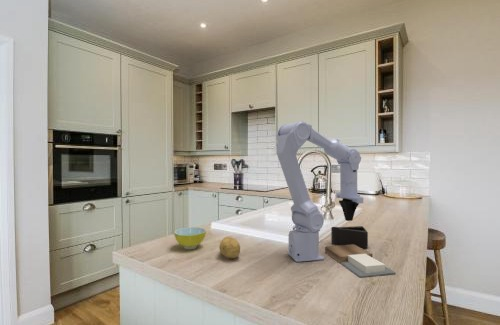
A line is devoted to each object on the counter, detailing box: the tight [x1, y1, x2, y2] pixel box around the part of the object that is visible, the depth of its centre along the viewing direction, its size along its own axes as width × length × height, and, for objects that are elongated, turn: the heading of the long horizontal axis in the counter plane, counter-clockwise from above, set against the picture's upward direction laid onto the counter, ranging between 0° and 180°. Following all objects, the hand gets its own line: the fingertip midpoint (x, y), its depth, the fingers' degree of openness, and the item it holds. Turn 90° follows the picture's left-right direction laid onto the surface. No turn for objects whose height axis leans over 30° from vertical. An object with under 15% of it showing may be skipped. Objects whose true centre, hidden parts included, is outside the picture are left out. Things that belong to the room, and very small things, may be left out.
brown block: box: [324, 244, 373, 264], centre depth 89 cm, size 11×10×2 cm
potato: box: [219, 236, 241, 259], centre depth 90 cm, size 7×11×6 cm, turn 10°
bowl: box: [173, 226, 207, 251], centre depth 99 cm, size 11×12×6 cm
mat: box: [340, 262, 397, 279], centre depth 79 cm, size 11×10×1 cm
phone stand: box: [330, 225, 369, 250], centre depth 102 cm, size 9×6×12 cm
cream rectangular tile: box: [348, 254, 386, 274], centre depth 80 cm, size 6×9×2 cm, turn 11°
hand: (348, 220), depth 97 cm, fingers closed
